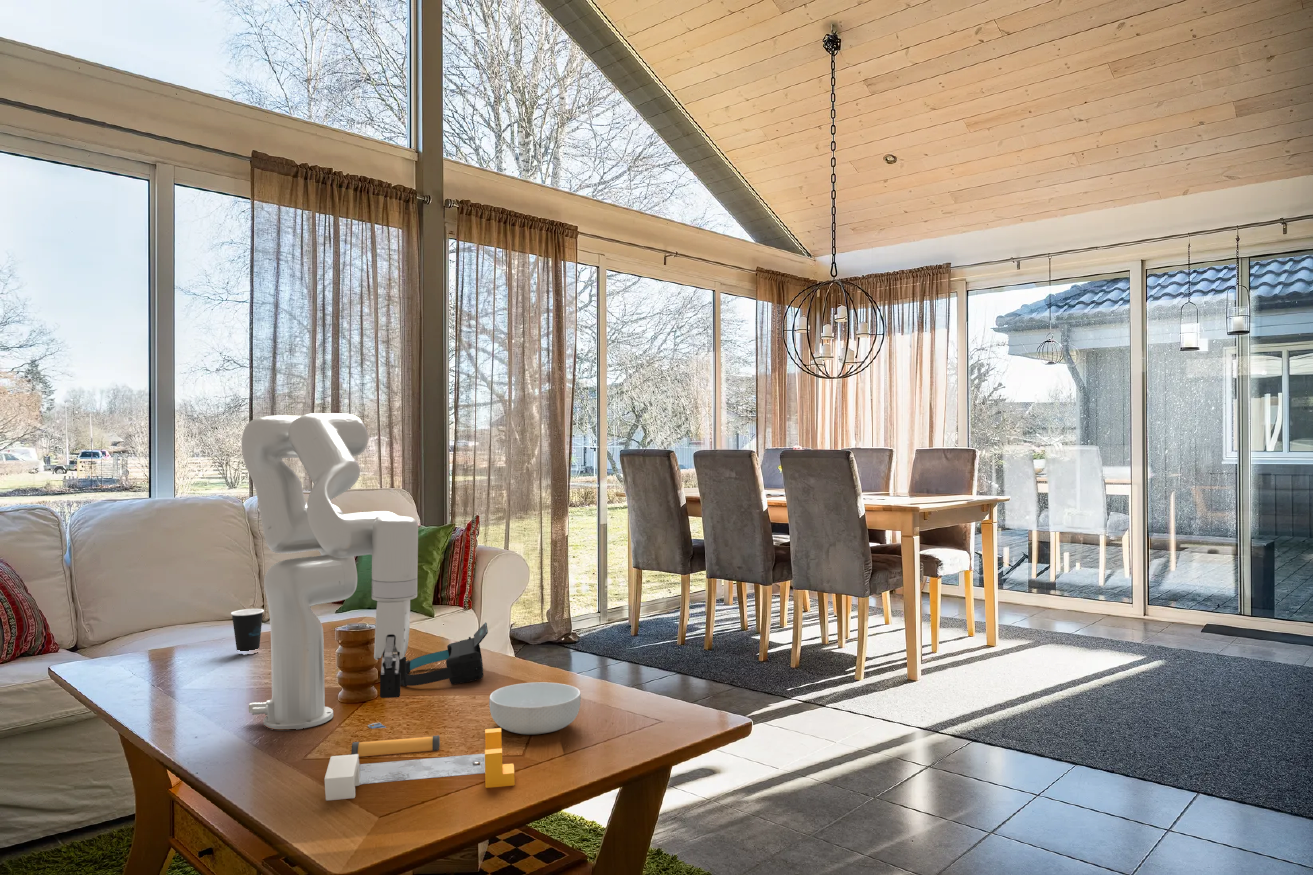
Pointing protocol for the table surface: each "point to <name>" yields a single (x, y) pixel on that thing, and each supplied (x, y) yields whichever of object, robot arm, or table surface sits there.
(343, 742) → the table surface
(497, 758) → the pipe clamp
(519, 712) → the cereal bowl
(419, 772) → the mounting plate
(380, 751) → the handle
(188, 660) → the table surface
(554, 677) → the table surface
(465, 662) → the virtual reality headset
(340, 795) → the white u-shaped block
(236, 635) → the dixie cup
